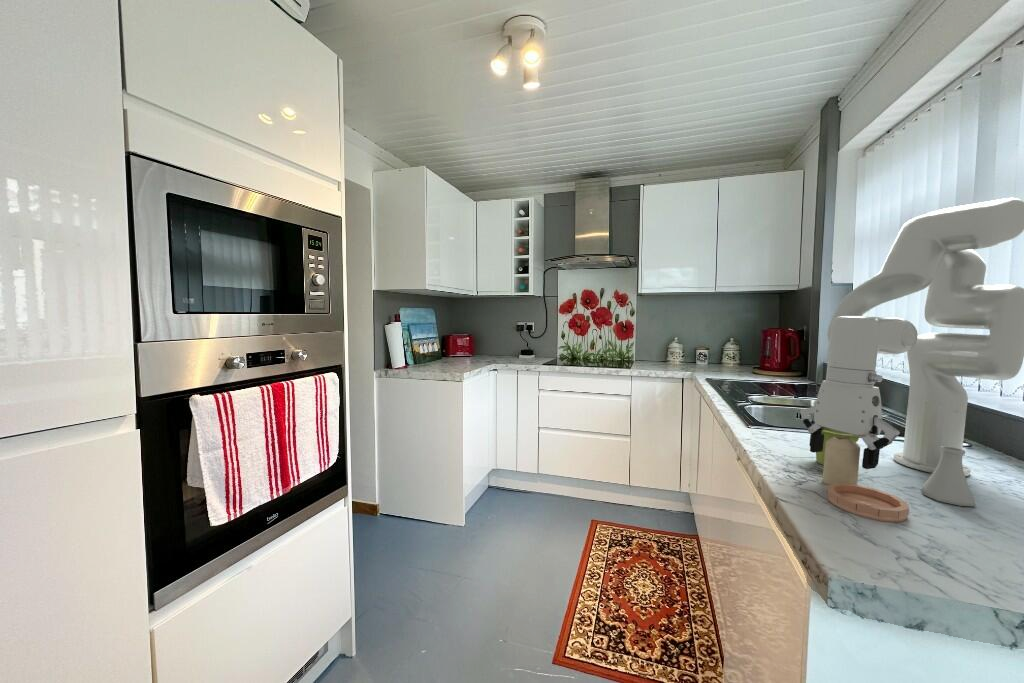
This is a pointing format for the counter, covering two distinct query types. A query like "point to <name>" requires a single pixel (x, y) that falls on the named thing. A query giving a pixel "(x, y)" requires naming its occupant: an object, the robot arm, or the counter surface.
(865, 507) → the candle dish
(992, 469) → the counter surface
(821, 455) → the plant pot
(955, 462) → the flask
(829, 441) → the candle
